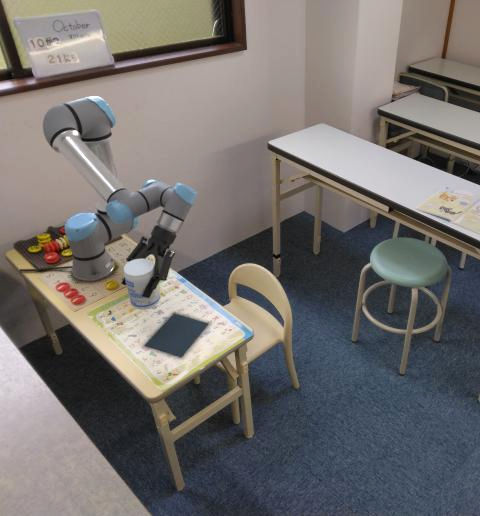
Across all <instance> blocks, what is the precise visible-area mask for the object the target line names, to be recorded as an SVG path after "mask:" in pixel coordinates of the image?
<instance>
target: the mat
mask: <svg viewBox="0 0 480 516" xmlns="http://www.w3.org/2000/svg"><path fill="white" fill-rule="evenodd" d="M208 325H209V322H205V321H201V320H198V319H196V318H195V319H194V318H191V317H188V316H184V315H182V314H178V313H175V312H174V313H173V314H172V315H171V316H170V317H169V318H168V319H167V320H166V321H165V322H164V324H162V325H161V327H160V328H159V329H158V330H157V331H156V332H155V333H154V334H153V335H152V337H151V338H150V339H148V341H147V342H146V343H145V344H144V346H146V347H149V348H151V349H155V350H158V351H161V352H164V353H166V354H171V355H173V356H177V357H180V358H182V357H183V356H184V355H185V353H186V352H187V351H188V350H189V348H191V346H192V345H193V343H194V342H195V341H196V340H197V339H198V338H199V336H200V335H201V334H202V333H203V331H204V330H205V329H206V328H207V327H208Z"/></svg>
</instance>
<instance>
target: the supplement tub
mask: <svg viewBox="0 0 480 516" xmlns="http://www.w3.org/2000/svg"><path fill="white" fill-rule="evenodd" d="M154 268H155V262H153V260H151V259H149V258H145V259H135V260H132V261H130V262H128V261H127V262H126V264H124V266H123V276H124V277H125V281H126V285H125V286H126V289H127V294H128V298H129V302H130V305H131V306H132V307H133V308H134V309H136V310H141V311H142V310H143V311H145V310H150V309H153V308H154V307H156V306H157V305H158V304H160V301H161V293H160V287H159V284H158V285H157V287H156V289H155V290H153V292H152V294H151V296H150V298H146V297H143V296H142V294H143V293H144V291H145V289H146V287H147V285H148V283H149V281H150V279H151V278H152V277H154ZM124 277H123V278H124Z"/></svg>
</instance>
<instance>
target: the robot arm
mask: <svg viewBox="0 0 480 516" xmlns="http://www.w3.org/2000/svg"><path fill="white" fill-rule="evenodd" d="M116 123H117V119H116V115H115V113H114V111H113V109H112V108H111V106H110V104H108V102H107V101H106V100H104V99H103V98H102V97H100V96H98V95H93V96H85V97H82V98H78V99H75V100H71V101H67V102H64V103H58V104H55V105H52V106H51V107H50V108H49V109H48V110H47V111H46V113H45V114H44V116H43V120H42V132H43V135H44V138H45V140H46V142H47V144H48V145H49V146H50V147H51V148H52V149H53V150H54V151H55V152H56V153H58V154H61V155H62V156H63V157H64V158H65V159H66V160H67V161H68V162H69V163H70V164H71V165H72V167H73V168H75V170H76V171H77V172H78V173H79V174H80V175H81V176H82V177H83V179H85V181H86V182H87V183H88V184H89V185H90V186H91V187H92V188H93V189H94V190H95V192H96V195H97V199H98V202H97V203H96V205H95V207H96V213H93V212H89V211H85V212H79V213H76V214H74V215H72V216H71V217H69V218H68V219H67V220H66V222H65V224H64V232H65V233H64V234H65V238H66V239H67V243H68V245H69V248H70V252H71V255H72V265H66V266H53V267H44V268H27V269H26V268H20V269H19V272H39V271H49V270H63V269H71V272H72V275H73V277H74V278H75V279H76V280H78V281H81V282H96V281H100V280H104V279H105V278H107V277H109V276H110V275H111V274H113V273H114V271H115V269H116V266H115V265H116V264H115V261H114V259H113V258H112V256H111V255H110V254H109V252H108V251H107V250H106V245H105V244H106V243H108V242H111V241H113V240H115V239H117V238H119V237H121V236H123V235H125V234H129V233H131V231H133V230H135V229H136V228H137V227H138V226H139V221H140V220H139V217H140V216H142V215H144V214H147V213H149V212H151V211H153V210H156V209H158V208H162V211H161V213H160V214H159V217H158V218H157V221H156V225H154V226H153V228H152V230H151V232H150V235H151V236H150V237H147V236H144V235H143V236H141V238H140V240H139V242H138V243H137V245H135V247H134V248H133V250H132V251H131V252H130V253H129V255H128V256H127V257H126V259H125V260H126V262H127V263H128V262H130V261H132V260H135V259H148V257H149V256H151V255H153V258H154V266H155V268H154V277H152V278H151V279H150V281H149V283H148V285H147V287H146V289H145V291H144V293H143V294H142V296H143V297H146V298H150V296H151V294H152V292H153V290H155V289H156V287H157V285H158V286H159V283H160V281H163V282H166V281H167V279H168V275H169V272H170V269H171V265H172V260H173V258H174V257H175V256H176V252H175V251H173V250H171V248H170V247H171V245H173V244H174V243H175V240H176V239H177V234H178V233H180V230H181V228H182V226H183V224H184V222H185V221H186V218H187V216H188V214H189V213H190V210H191V209H192V207H193V206H194V203H195V200H196V198H197V196H198V193H197V190H195V189H193V188H191V187H189V186H188V185H186V184H183V183H180V182H177V183H176V184H175V185H174V186H171V185H169V184H167V183H165V182H164V181H160V180H158V179H149V180H147V181H145V183H144V184H142V186H141V189H138V190H136V191H134V192H130V190H129V189H127V187H126V186H124V185H123V184H122V182H121V181H120V179H119V176H118V172H117V168H116V167H117V166H116V164H115V160H114V155H113V152H112V147H111V143H110V139H111V138H112V137H113V133H112V129H113V128H114V127H115V126H116ZM120 284H121V285H123V286H126V281H125V277H123V279H122V280H121V283H120Z"/></svg>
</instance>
